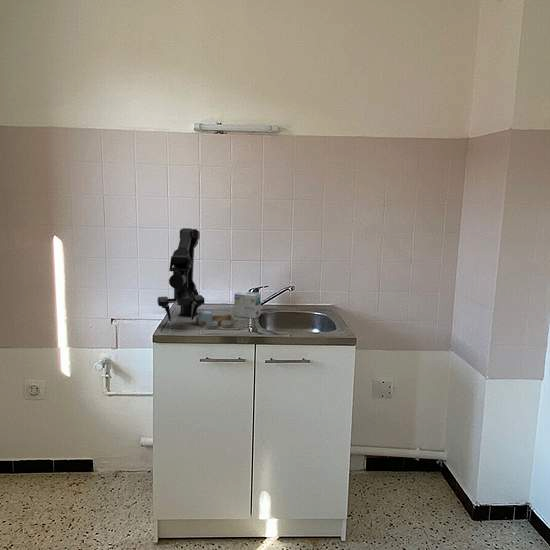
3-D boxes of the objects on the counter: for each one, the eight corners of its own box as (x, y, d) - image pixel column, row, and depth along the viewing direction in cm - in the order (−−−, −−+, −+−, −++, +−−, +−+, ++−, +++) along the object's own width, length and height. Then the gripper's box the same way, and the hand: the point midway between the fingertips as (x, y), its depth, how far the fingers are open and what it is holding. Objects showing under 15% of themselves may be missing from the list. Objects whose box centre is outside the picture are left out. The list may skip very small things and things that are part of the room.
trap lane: (202, 329, 197) (202, 324, 197) (195, 321, 209) (195, 316, 209) (240, 327, 202) (240, 322, 202) (231, 319, 215) (231, 314, 214)
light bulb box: (260, 315, 223) (261, 292, 221) (255, 319, 216) (256, 295, 215) (239, 313, 226) (239, 290, 224) (233, 316, 220) (233, 293, 218)
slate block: (200, 325, 203) (200, 314, 202) (198, 322, 208) (198, 311, 207) (212, 325, 205) (212, 313, 204) (209, 322, 209) (209, 310, 208)
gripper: (159, 288, 189) (160, 327, 192) (207, 286, 195) (207, 324, 198) (157, 283, 200) (157, 320, 202) (201, 281, 206) (201, 317, 208)
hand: (181, 320), depth 202 cm, fingers open, 9 cm apart
